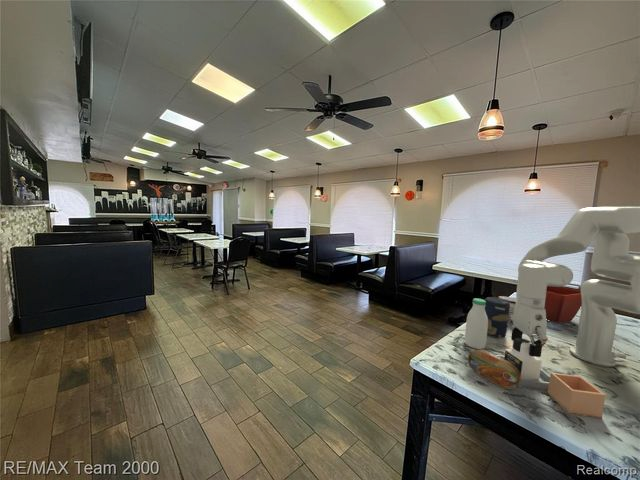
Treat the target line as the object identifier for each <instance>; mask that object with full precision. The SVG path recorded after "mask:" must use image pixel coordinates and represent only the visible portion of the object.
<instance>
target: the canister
mask: <svg viewBox="0 0 640 480" xmlns="http://www.w3.org/2000/svg"><path fill="white" fill-rule="evenodd" d="M484 300H485V301H486V305H485V312H486V315H487V318H488V329H487V336H488V337H491V338H495V339H504V338H506V337H507V331H508V326H509V325H508V324H509V323H508V319H509V308H510V303H509V302H508V301H506V300H504V299H500V298H499V297H496V296H494V297H491V296H488V297H486V298H485V299H484Z"/></svg>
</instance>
